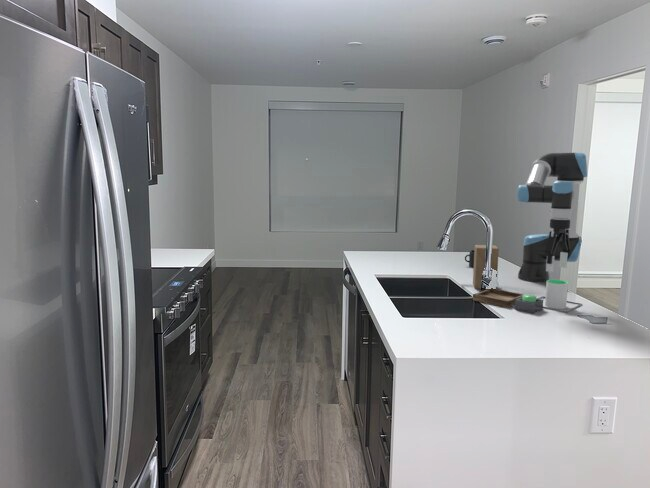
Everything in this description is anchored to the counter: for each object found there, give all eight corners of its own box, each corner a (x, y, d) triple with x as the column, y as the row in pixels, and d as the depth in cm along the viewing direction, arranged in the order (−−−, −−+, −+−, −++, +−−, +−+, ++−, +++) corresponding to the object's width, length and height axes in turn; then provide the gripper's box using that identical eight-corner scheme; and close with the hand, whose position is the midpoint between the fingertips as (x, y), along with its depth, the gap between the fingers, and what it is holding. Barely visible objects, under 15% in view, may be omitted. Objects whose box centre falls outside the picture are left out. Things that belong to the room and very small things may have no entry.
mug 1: (463, 264, 295) (464, 249, 294) (484, 265, 293) (485, 250, 291) (464, 267, 286) (465, 252, 285) (486, 268, 284) (487, 253, 282)
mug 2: (539, 300, 215) (541, 277, 213) (558, 301, 214) (560, 277, 212) (548, 308, 203) (550, 283, 201) (569, 309, 202) (571, 284, 200)
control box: (523, 305, 207) (524, 296, 206) (542, 309, 201) (543, 300, 200) (514, 309, 201) (515, 299, 200) (533, 313, 195) (534, 303, 195)
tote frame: (542, 297, 220) (542, 296, 220) (582, 304, 208) (582, 303, 208) (525, 304, 209) (525, 303, 208) (566, 312, 196) (566, 311, 196)
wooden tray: (491, 294, 226) (491, 288, 225) (525, 300, 214) (525, 294, 214) (472, 300, 215) (473, 294, 214) (507, 307, 203) (508, 301, 203)
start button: (525, 304, 204) (526, 294, 204) (537, 307, 201) (538, 296, 200) (519, 306, 201) (520, 296, 200) (532, 309, 197) (532, 298, 196)
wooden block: (496, 290, 233) (498, 248, 230) (474, 289, 235) (476, 247, 232) (493, 285, 243) (495, 245, 240) (472, 284, 245) (474, 244, 242)
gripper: (563, 216, 214) (559, 264, 217) (538, 219, 197) (534, 271, 200) (581, 217, 208) (577, 267, 211) (557, 221, 191) (553, 274, 194)
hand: (556, 269), depth 206 cm, fingers open, 13 cm apart
